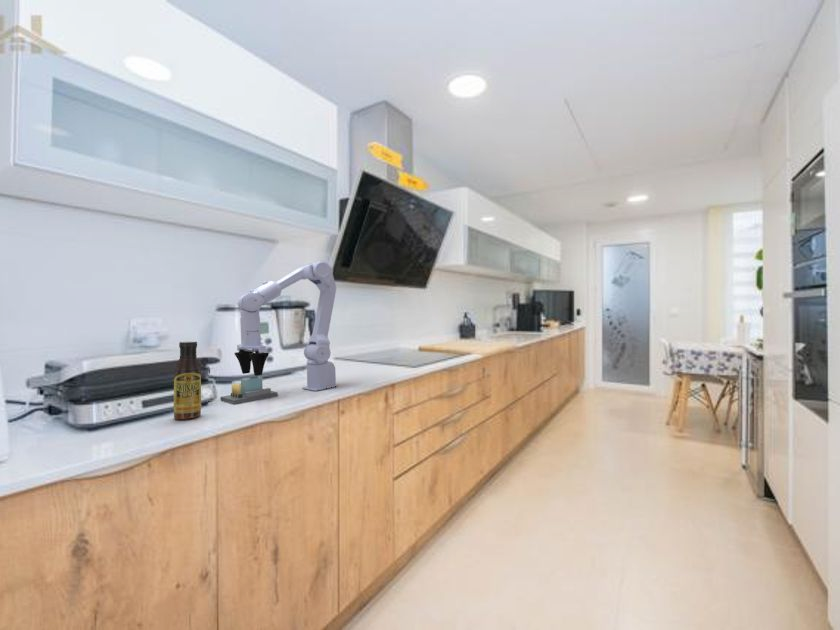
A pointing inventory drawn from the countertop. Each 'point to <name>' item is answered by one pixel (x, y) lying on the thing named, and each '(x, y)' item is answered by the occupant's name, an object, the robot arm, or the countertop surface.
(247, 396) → the header board
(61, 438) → the countertop surface
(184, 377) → the sauce bottle
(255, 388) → the plug block
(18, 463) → the countertop surface
